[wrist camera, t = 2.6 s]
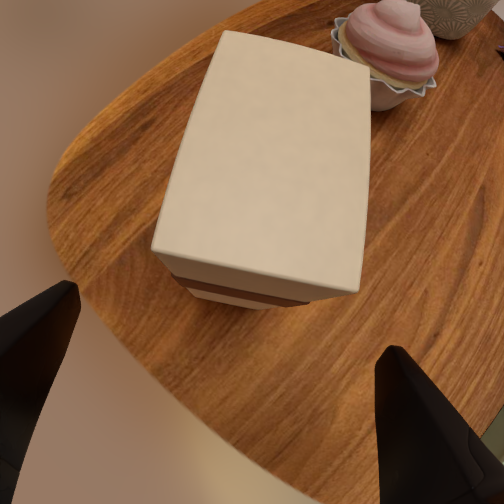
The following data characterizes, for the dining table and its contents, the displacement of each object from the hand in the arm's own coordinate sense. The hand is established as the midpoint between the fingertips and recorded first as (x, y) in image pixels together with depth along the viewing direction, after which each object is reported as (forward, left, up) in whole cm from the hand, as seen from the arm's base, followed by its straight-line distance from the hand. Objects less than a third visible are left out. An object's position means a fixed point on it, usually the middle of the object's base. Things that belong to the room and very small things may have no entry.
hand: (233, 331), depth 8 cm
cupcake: (+21, +8, -11) cm, 25 cm away
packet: (+3, +3, -11) cm, 12 cm away
